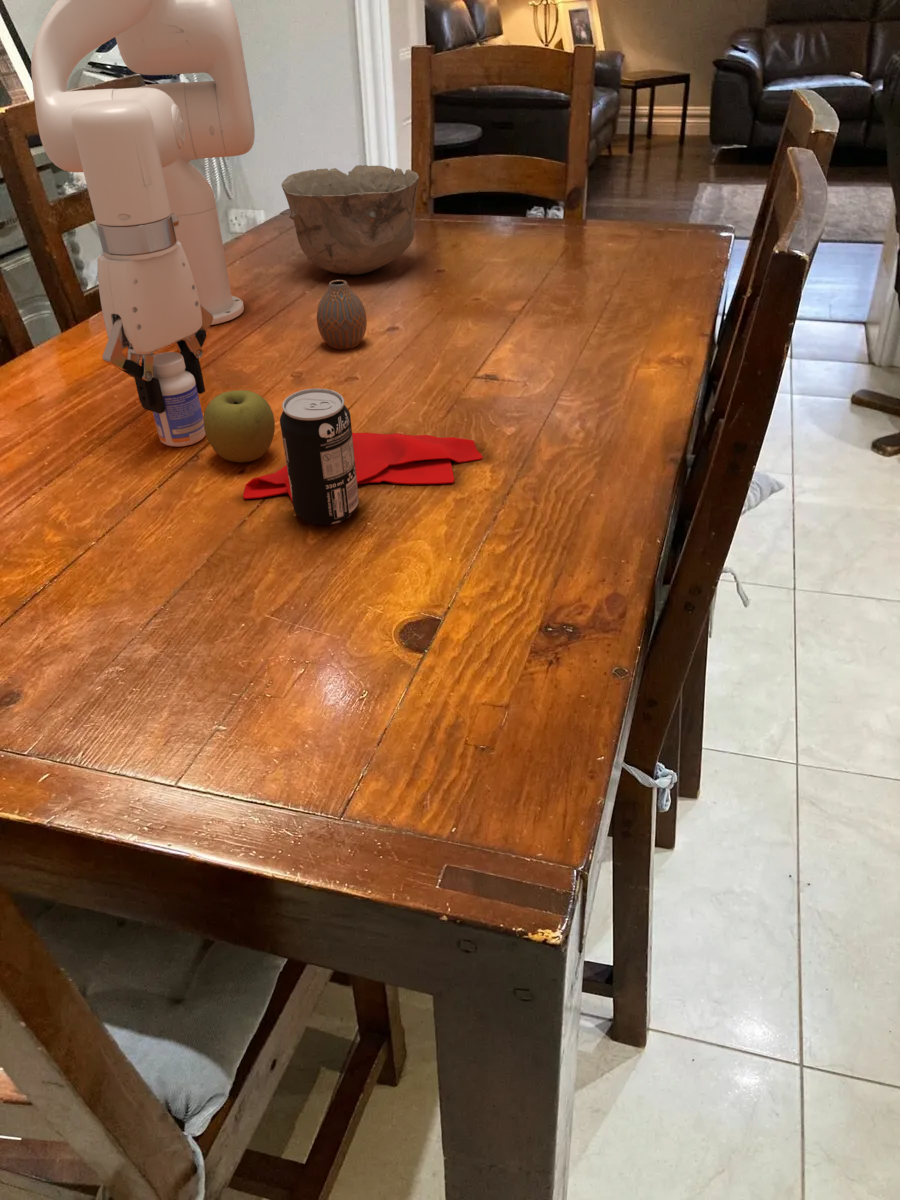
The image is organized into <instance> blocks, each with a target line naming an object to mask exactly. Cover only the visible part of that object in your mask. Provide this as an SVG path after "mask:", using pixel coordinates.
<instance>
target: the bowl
mask: <svg viewBox="0 0 900 1200" xmlns="http://www.w3.org/2000/svg"><path fill="white" fill-rule="evenodd" d="M347 172H348V173H345V172H342V171H341V170H339V169H338V168H336V167H333V168H330V169H328V168H317V169H310V170H303V171H299V172H296V173H295V172H294V173H292V174H290V175H287V177H286V178H285V179H284V180H283V181H282V183H281V188H282V191H283V193H284V195H285V198H286V201H287V204H288V207H289V211H290V214H289V216H288V218H289V219H291V220H292V221H293V223H294V227H295V233H296V238H297V241H298V244H299V247H300V249H301V251H302V253H303V254H304V255H305V256H306V258H307V259H308V260H309V261H310V262H311V263H312V264H313V265H315V266H316V267H318V268H320V269H322V270H324V271H327V272H329V273H333V274H339V275H347V276H357V275H358V276H359V275H365V274H367V273H368V274H369V273H371V272H373V271H375V270H377V269H380V268H381V267H383V266H385V265H388V264H389V263H391V262H392V261H394V260H395V259H397V258H398V257H400V256H402V255H403V254H404V253H405V252H406V250H407V249H408V248H409V247H410V246H411V245H412V243H413V240H414V239H415V230H416V229H415V228H416V214H417V201H418V196H417V195H418V194H417V193H418V187H419V182H420V176H419V174H418V172H417V171H414V170H412V169H409V168H408V169H406V170H405V172H403V170H402V169H401V168H398V167H395V169H393V168H391V167H387V166H386V165H385V166H384V165H368V164H363V165H362V164H358V165H355V166H354V167H353V168H352V169H351V170H350V171H347Z"/></svg>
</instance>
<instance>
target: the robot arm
mask: <svg viewBox="0 0 900 1200" xmlns="http://www.w3.org/2000/svg"><path fill="white" fill-rule="evenodd" d="M114 38H115V41H116V44H117V48H118V51H119V55H120V57H121V59H122V61H123V63H124V65H125V66H126V67H127V68H128V70H130V71H131V72H133V73H136V74H139V75H143V76H167V75H168V76H170V75H187V74H207V75H209V77H211V78H212V80H204V81H189V82H187V81H179V82H163V83H151V84H146V85H142V86H138V87H127V88H126V87H125V88H100V89H86V90H85V89H84V90H81V89H80V90H69V91H68V90H67V89H68V82H69V79H70V77H71V74H72V73H73V70H74V69H75V67H76V66H77V65H78V64H79V63H80V62H81V61H82V60H83V59H85V57H86V56H87V55H89V54H90V53H92V52H93V51H94V50H95V49H97V48H99V47H100V46H102V45H104V44H106V43H107V42H109V41H111V40H112V39H114ZM243 49H244V48H243V44H242V37H241V32H240V27H239V22H238V18H237V15H236V12H235V9H234V6H233V4H232V2H231V1H230V0H56V1H55V3H54V4H53V6H52V7H51V8H50V10H49V11H48V13H47V15H46V16H45V18H44V19H43V22H42V24H41V25H40V28H39V31H38V33H37V35H36V38H35V40H34V44H33V48H32V53H31V63H30V72H31V83H32V91H33V100H34V110H35V116H36V125H37V128H38V133H39V134H38V135H39V138H40V143H41V145H42V147H43V149H44V152H45V154H46V156H47V157H48V159H49V160H50V162H52V164H53V165H55V166H56V167H58V168H59V169H61V170H63V171H65V172H68V173H83V175H84V179H85V180H84V181H85V183H86V187H87V188H86V189H87V192H88V195H89V199H90V204H91V208H92V213H93V216H94V220H95V224H96V229H97V233H98V237H99V242H100V245H101V250H102V253H103V254H100V255H99V256H97V264H96V265H97V283H98V292H99V299H100V307H101V311H102V316H103V317H102V318H103V322H104V323H103V324H104V327H105V331H106V335H107V336H106V337H107V342H106V345H105V348H104V351H103V354H102V360H103V361H104V362H105V363H107V364H109V365H111V366H113V367H116V368H118V369H119V370H120V371H121V372H123V373H125V374H127V375H128V377H130V378H133V379H134V383H135V387H136V390H137V395H138V399H139V402H140V404H141V407H142V408H143V409H144V410H146V411H151V412H152V413H153V412H156V413H160V414H161V413H163V412H165V404H164V400H163V396H162V391H161V387H160V383H159V380H158V379H157V378H154V377H153V362H154V355H155V352H157V351H159V350H161V349H163V348H166V347H168V346H170V345H173V344H174V346H175V348H176V350H177V351H178V353H180V354H181V355H182V356H183V358H184V362H185V367H186V368H185V371H188V372H190V373H191V374H192V375H193V376H194V378H195V382H196V387H197V392H198V394H203V393H205V392H206V388H205V381H204V378H203V371H202V367H201V362H200V359H201V358H202V357H203V355H204V351H203V346H204V343H205V341H206V338H207V333H208V331H209V329H210V327H211V326H214V325H218V324H219V325H220V324H223V323H226V322H229V321H232V320H234V319H237V317H240V315H242V313H243V312H244V310H245V305H244V301H243V300H242V299H241V298H240V297H238V296H234V295H233V294H232V290H231V283H230V277H229V272H228V271H229V270H228V266H227V261H226V260H227V259H226V254H225V249H224V248H225V247H224V244H223V237H222V231H221V225H220V219H219V213H218V208H217V207H218V206H217V201H216V196H215V193H214V190H213V188H212V186H211V184H210V183H209V181H208V180H207V178H206V177H205V176H204V174H202V173H201V172H200V171H199V170H198V169H197V168H196V167H195V166H194V165H193V164H192V163H191V161H194V160H195V161H196V160H199V159H216V158H230V157H237V156H242V155H245V154H247V153H249V152H250V151H251V150H252V148H253V146H254V144H255V132H256V131H255V119H254V113H253V106H252V101H251V93H250V87H249V81H248V75H247V74H248V73H247V69H246V62H245V55H244V50H243ZM126 348H127V357H126V356H124V354H123V353H124V349H126ZM140 359H141V360H140ZM140 361H141V362H140ZM140 364H141V365H140Z"/></svg>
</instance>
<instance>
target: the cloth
mask: <svg viewBox="0 0 900 1200" xmlns="http://www.w3.org/2000/svg"><path fill="white" fill-rule="evenodd" d="M352 438H353V447H354V457H355V467H356V477H357V485H363V484H370V483H371V484H373V483H374V484H375V483H379V484H380V483H381V482H386V483H390V484H396V485H440V484H441V485H444V484H454V482H455V476H454V471H453V466H452V463H451V461H453V462H456V463H458V464H462V463H466V462H467V463H468V462H473V461H474V462H475V461H481V460H483V458H484V456H483V455H482V453H480V451H478V449H477V446H476V443H475V440H473V439H468V438H460V437H455V436H447V437H438V436H433V435H430V434H417V435H415V434H414V435H413V434H404V433H398V432H394V433H388V434H387V433H376V432H352ZM285 494H288V496H289V499H290V501H291V503H292V504H293V502H292V495H291V489H290V483H289V476H288V470H287V464H285V465H284V466H283V467H281V468H280V469H279V470H277V471H276V472H273V473H267V474H263V475H261V476H258V477H253V478H251V479H250V480H249V481H248V482H247V483H246V484H245V485H244V490H243V494H242V498H243V499H244V500H250V499H263V498H267V497H268V498H269V497H272V496H273V497H274V496H279V495H285Z"/></svg>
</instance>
